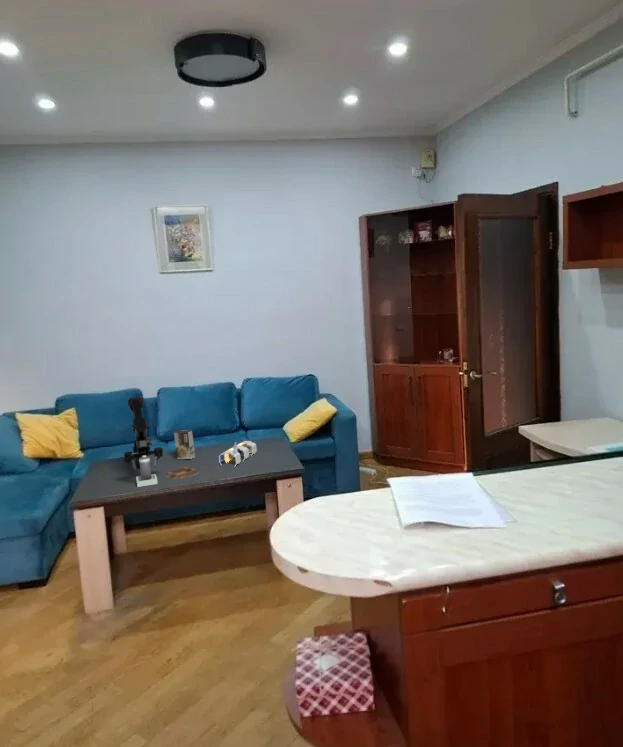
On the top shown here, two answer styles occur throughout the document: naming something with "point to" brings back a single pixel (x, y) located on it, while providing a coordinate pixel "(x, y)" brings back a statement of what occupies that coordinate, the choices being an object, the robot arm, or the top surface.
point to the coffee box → (184, 444)
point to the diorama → (238, 452)
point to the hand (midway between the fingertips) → (145, 468)
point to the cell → (145, 468)
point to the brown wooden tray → (181, 473)
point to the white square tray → (146, 481)
